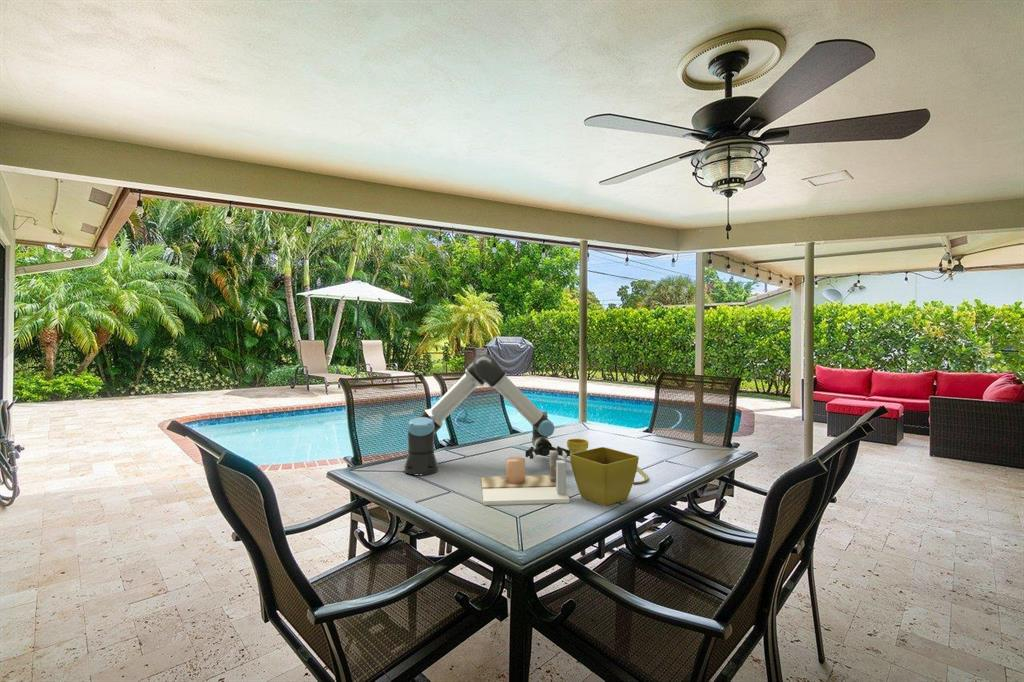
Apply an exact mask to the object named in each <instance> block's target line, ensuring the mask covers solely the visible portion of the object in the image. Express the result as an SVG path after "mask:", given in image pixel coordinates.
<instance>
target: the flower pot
mask: <svg viewBox="0 0 1024 682" xmlns="http://www.w3.org/2000/svg"><path fill="white" fill-rule="evenodd" d="M569 457H570V459H569V460H570V464H571V468H572V469H571V470H572V473H573V474H572V475H573V476H574V480H575V482H576V483H575V484H576V486H577V490H578V493H579V494H580V496H581V498H582V497H583V498H582V499H585V498H586V499H585V500H587V499H588V500H587V501H590V502H592V501H593V503H595V502H596V504H597V503H598V505H600V504H601V505H600V506H602V505H604V507H606V505H607V506H610V505H614V504H617V503H620V502H623V501H626V500H627V499H628V498H629V495H630V492H631V490H632V487H633V485H634V484H633V482H635V478H636V474H637V471H636V470H637V466H638V465H639V460H640V459H639V458H640V457H639V455H636V454H631V453H628V452H626V451H625V452H624V451H621V450H617V449H614V448H613V449H612V448H609V447H605V446H601V447H595V448H591V449H587V450H585V451H581V452H576V453H572V454H570V456H569ZM619 501H620V502H619ZM616 502H617V503H616ZM613 503H614V504H613Z"/></svg>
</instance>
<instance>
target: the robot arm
mask: <svg viewBox="0 0 1024 682" xmlns="http://www.w3.org/2000/svg"><path fill="white" fill-rule="evenodd" d="M484 384H487V385H488V386H489V387H490V388H491V389H493V388H494V389H495V390H496V391H497V392H499V394H500V395H501V396H502V397H503V398H504V399H505V400H506V401H507V402H508V403H509V404H510V405H512V406H513V408H514V409H515V410H516V411H517V412H518V413H520V415H521V416H522V417H523V418H524V419H525V420H526V421H527V422H528V423H529V424H530V425H531V426H532V437H531V443H532V446H530V448H528V449H527V450H525V451H524V452H525V453H524V454H525V457H526V458H528V457H529V459H530V460H532V461H533V462H536V461H537V456H542V457H548V456H549V455H550V450H557V452H558V456H561V457H562V460H564V461H565V462H567V461H568V457H570V450H569V449H566V448H564V447H560V446H559V445H557V446H556V447H555V446H553V445H552V443H551V442H550V440H549V439H548V438H549V437H550V436H552V435H553V433H554V432H555V424H554V423H553V421H551V420H550V419H549V418H548V411H547V410H545V409H544V410H543V409H539V407H537V406H536V405H535V404H534V403H533V401H531V400H530V399H529V398H528V397H527V395H525V394H524V393H523V392H522V391H521V390H520V388H518V386H516V384H515V383H513V381H511V379H510V378H509V377H508V376H507V372H505V370H504V369H503V368H502V367H501V365H500V364H499V362H498V360H496V358H494V356H492V355H491V354H488V353H487V354H486V353H481V354H478V355H476V356H475V357H474V358H473V360H472V362H471V363H469V364H468V365H467V366H466V368H465V369H464V374H463V375H462V376H461V377H460V378H459V379H458V380H457V381H456V382H455V383H454V384H453V385H452V386H451V387H450V388H449V389H448V390H447V391H446V392H445V393H444V394H443V395H442V396H441V397H440V398H439V399H438V400H437V401H436V403H434V404H433V405H432V406H431V407H430V408H425V409H424V410H423V411H422V412H421V413H419V415H418V416H416V417H414V418H411V419H410V420H409V421H408V423H407V433H408V434H407V435H408V436H407V438H408V439H407V440H408V441H407V443H408V444H407V447H408V448H407V450H408V451H407V452H408V453H407V458H406V461H405V464H404V467H403V468H404V471H405V472H406V473H410V474H419V475H418V476H421V475H420V474H428V475H431V474H430V473H432V474H435V473H437V472H438V471H439V463H438V460H437V458H436V455H435V434H436V433H437V432H438V431H439V430H440V429H441V428H442V427H443V421H445V419H447V417H448V416H450V414H452V412H453V411H454V410H455V409H456V408H457V407H458V406H459V405H460V404H461V403H463V402H464V400H465V399H467V397H468V396H469V395H470V394H471V393H472V392H473V391H475V389H476V388H477V387H482V386H483V385H484ZM525 457H524V458H525ZM437 470H438V471H437ZM436 471H437V472H436ZM405 472H404V473H405ZM434 472H435V473H434ZM406 473H405V474H406Z"/></svg>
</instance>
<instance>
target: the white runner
mask: <svg viewBox="0 0 1024 682" xmlns="http://www.w3.org/2000/svg"><path fill="white" fill-rule="evenodd" d="M566 467H567V462H566V461H565V460H564V459H558V460H556V487H536V488H498V489H482V488H481V492H482V493H481V494H482V506H502V505H503V506H504V505H505V506H506V505H507V506H508V505H535V504H537V505H539V504H540V505H542V504H544V505H545V503H546V504H570V503H571V499H570V497H569V496H568V493H567V492H566V489H567V488H566V487H567V481H566V480H567V479H566V478H567V469H566Z"/></svg>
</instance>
